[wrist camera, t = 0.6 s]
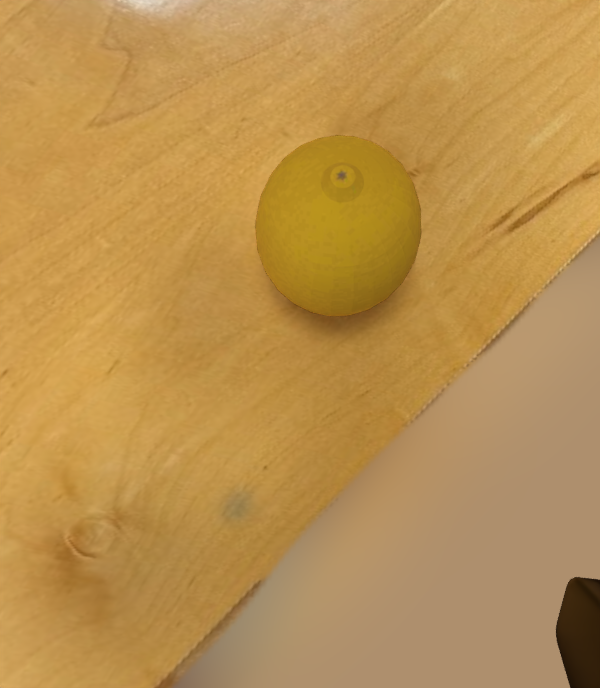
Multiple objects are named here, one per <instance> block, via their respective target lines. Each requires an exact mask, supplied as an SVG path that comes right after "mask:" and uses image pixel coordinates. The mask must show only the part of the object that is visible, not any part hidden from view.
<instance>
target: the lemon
mask: <svg viewBox="0 0 600 688" xmlns="http://www.w3.org/2000/svg"><path fill="white" fill-rule="evenodd" d="M255 229H256V240H257V249H258V253H259V256H260V258H261V261H262V264H263V266H264V269H265V272H266V274H267V275H268V276H269V278H270V279H271V281H272V282H273V284H274V285H275V286H276V288H277V289H278V291H279V292H281V293H282V294H283V295H284V296H285V297H287V298H288V299H289V300H290V301H291V302H293V303H294V304H295V305H297V306H299V307H301V308H304V309H306V310H308V311H310V312H312V313H317V314H322V315H327V316H348V315H353V314H356V313H359V312H363V311H366V310H369V309H370V308H372V307H374V306H375V305H377V304H379V303H380V302H382V301H384V300H386V299H387V298H388V297H389V296H390V295H391V294H392V293H393V292H394V291H395V290H396V289H397V288H398V287H399V286H400V285H401V284H402V282H403V281H404V279H405V277H406V276H407V274H408V272H409V270H410V269H411V267H412V265H413V263H414V261H415V258H416V254H417V250H418V247H419V243H420V239H421V208H420V204H419V200H418V197H417V193H416V190H415V187H414V184H413V182H412V180H411V178H410V177H409V175H408V173H407V172H406V170H405V168H404V167H403V165H402V164H401V163H400V162H399V161H398V160H397V159H396V158H395V157H394V156H393V155H392V154H391V153H390V152H389V151H387V150H385V149H384V148H382V147H380V146H379V145H377V144H375V143H373V142H371V141H368V140H364V139H361V138H358V137H355V136H341V135H335V136H329V137H323V138H318V139H315V140H313V141H311V142H308V143H306V144H303V145H301V146H300V147H298V148H297V149H295V150H294V151H293V152H291V153H290V154H289V155H287V156H286V157H285V158H284V159H283V160H282V161H281V163H280V164H279V165H278V166H277V167H276V169H275V170H274V171H273V172H272V174H271V175H270V177H269V179H268V182H267V184H266V186H265V188H264V190H263V192H262V194H261V197H260V201H259V206H258V211H257V217H256V223H255Z"/></svg>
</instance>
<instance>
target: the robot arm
mask: <svg viewBox="0 0 600 688" xmlns="http://www.w3.org/2000/svg"><path fill="white" fill-rule="evenodd" d="M556 637H557V643H558V647H559V650H560V654H561V657H562V660H563V664H564V667H565V671H566V674H567V678H568V681H569V684H570V688H600V580H598V579H589V578H580V577H575V578H573V579H571V580H570V581H569V582H568V585H567V587H566V591H565V595H564V598H563V602H562V606H561V610H560V613H559V617H558V621H557V625H556Z"/></svg>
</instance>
